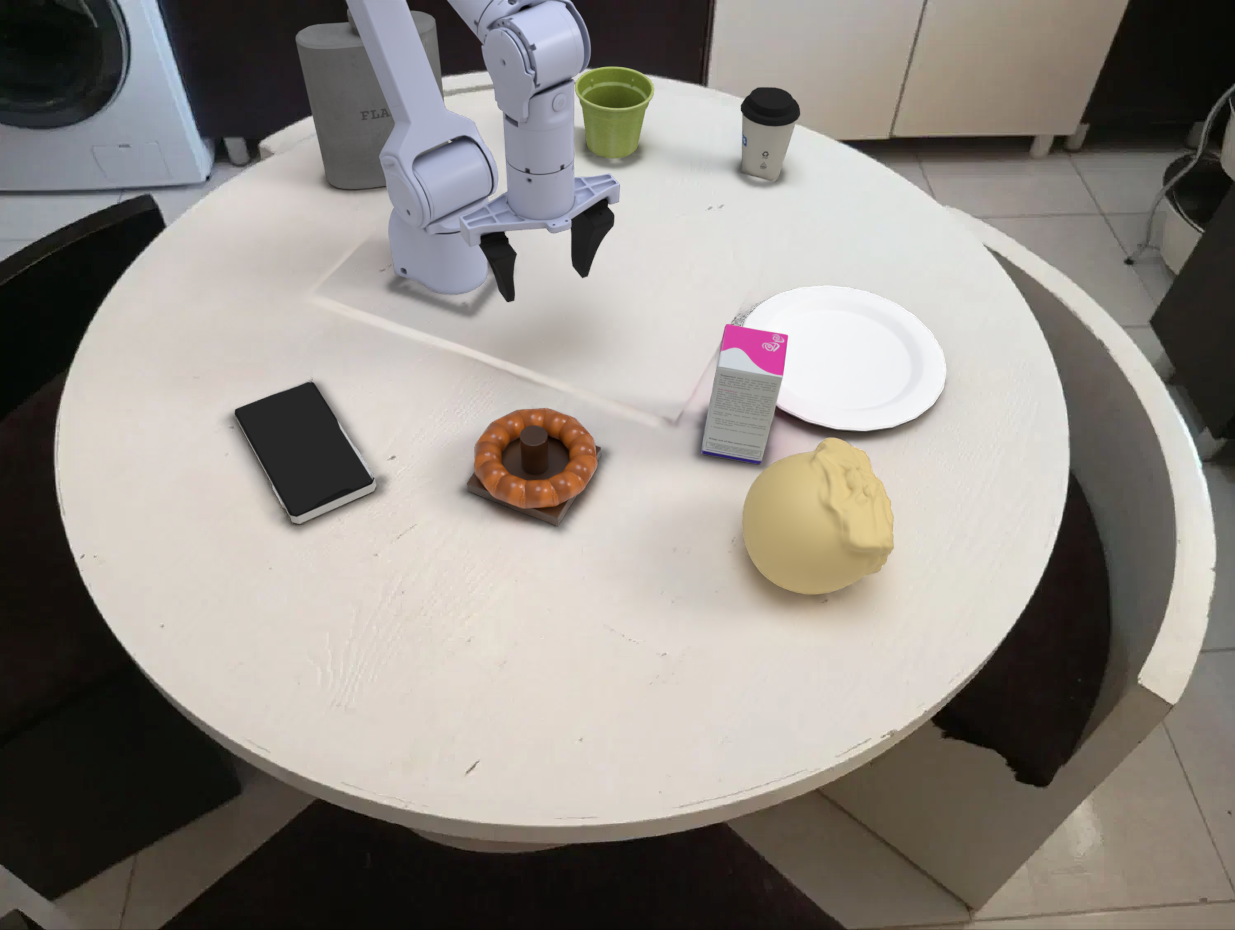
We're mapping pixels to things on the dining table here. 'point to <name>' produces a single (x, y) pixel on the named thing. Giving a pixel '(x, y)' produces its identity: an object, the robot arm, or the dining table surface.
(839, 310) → the plate
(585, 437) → the ring
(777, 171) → the coffee cup
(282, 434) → the smartphone
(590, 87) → the plant pot
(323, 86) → the flask
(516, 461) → the stand
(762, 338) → the supplement box
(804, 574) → the sculpture
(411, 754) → the dining table surface
